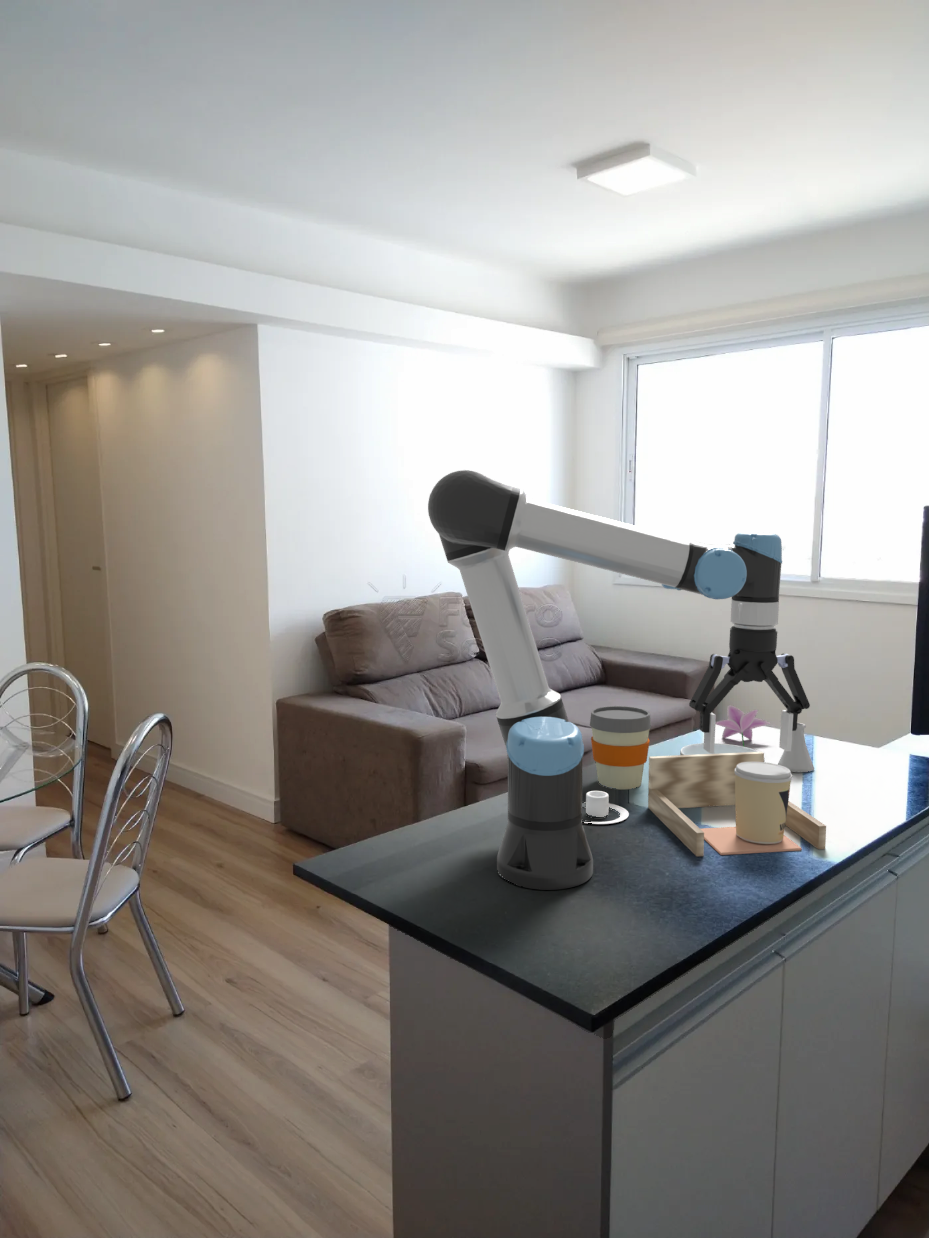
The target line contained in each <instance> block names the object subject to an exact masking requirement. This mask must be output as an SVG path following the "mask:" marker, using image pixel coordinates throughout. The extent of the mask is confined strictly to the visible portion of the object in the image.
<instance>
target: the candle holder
mask: <svg viewBox="0 0 929 1238" xmlns="http://www.w3.org/2000/svg"><path fill="white" fill-rule="evenodd" d="M609 797H610V796H609V793H607V792H605V791H602V790H591V791H588V792H586V793H585V802H584V801H583V802H584V803H586V807H585V814H586V813H587V814H588V815H592V816H596V817H604V816H606V815H608V816H609V812H610V811H609V810H610V809H609V807H610V808H612V809H615V810H616V811H618V812H619V813H620V815H619V816H620V817H618V818H615V819H613V820H607V821H591V822H584V823H583V824H588V823H592V824H591V825H609V824H616V823H619V822H620V823H621V822H624V820H627V819H628V817H629V815H630V813H629V811H628V810H627V809H626V808H624V807H623V806H619V805H617V804H614V803H610V802H609V800H610V798H609ZM612 809H611V810H612ZM616 811H615V812H616ZM619 813H618V814H619ZM604 818H605V817H604Z"/></svg>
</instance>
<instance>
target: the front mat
mask: <svg viewBox="0 0 929 1238" xmlns="http://www.w3.org/2000/svg"><path fill="white" fill-rule="evenodd" d="M700 829H701V830H702V831H703V832H704V841H706V843H707V844H709V846H710V847H712V848H713V849H714V850H715V851H716V852H717V853H718V854H720V856H727V855H742V854H759V853H779V852H780V853H781V852H795V851H802V849H803V848H802V847H801V846H799V845H798V844H797V843H795V842H794V841H793V840H791V839H790V838H789V837H788V836H786V834H784V836H783V840H782V841H781V842H780V843H776V844H759V843H753V842H749V841H746V840H743V839H741V838H740V837H738V836H737V834H736V826H724V827H722V826H721V827H706V828H705V827H704V828H700Z"/></svg>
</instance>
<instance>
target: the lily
mask: <svg viewBox="0 0 929 1238" xmlns="http://www.w3.org/2000/svg"><path fill="white" fill-rule="evenodd" d="M726 711H727V712H726V713H727V714H726V715H727V719H722V720H717V721H716V724H715V726H718V727H719V726H720V727H723V728H724V729H723V732H722V736H721V738H722V739H726V738H729V737H732V736H734V735H737V734H739V735H741V740H742V742H741V743H742V746H743V747H745V742H744V741H745V740H744V737H745V738H746V739H748V740H752V739H753V729H756V728H760V727H765V726H768V725H771V722H769V721H768V720H765V719H763V718H758V717H757V714H758V712H759V709H753V710H749V711H747V712H745V713H744V711H743V710H741V709H740V708H739V707H737V706H734V705H732V704H729V705H727V709H726Z"/></svg>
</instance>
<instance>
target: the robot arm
mask: <svg viewBox="0 0 929 1238" xmlns="http://www.w3.org/2000/svg"><path fill="white" fill-rule="evenodd" d="M427 513H428V518H429V520H430V524H431V525H432V527H433V529H434V530H435V531H436V533H437V534H438V536H439V539H440V542H441V545H442V547H443V551H444V555H445V558H446V561H447V563H448V564H450V565H452V567H455V568H457V569H458V570H459V572H460V576H461V579H462V583H463V584H464V585H463V586H464V589H465V592H466V596H467V598H468V601H469V603H470V608H471V611H472V615H473V617H474V619H475V624H476V627H477V630H478V632H479V633H478V634H479V636H480V639H481V642H482V646H483V650H484V652H485V655H486V659H487V661H488V665H489V669H490V672H491V674H492V678H493V682H494V685H495V687H496V691H497V693H498V696H499V700H500V705H499V706H498V708H497V710H496V712H495V716H496V721H497V723H498V726H499V730H500V733H501V735H502V737H501V738H502V739H503V743H504V746H505V750H506V754H507V755H506V757H507V758H506V759H507V760H506V761H507V763H506V764H507V824H506V827H505V830H504V834H503V836H502V840H501V843H500V845H499V848H498V851H497V856H496V871H497V870H498V872H499V874H501V876H503V878H505V879H506V880H509V881H510V882H512V883H514V884H513V885H515V884H517V885H516V886H518V887H521V886H523V887H522V888H526V889H532V890H542V891H543V890H545V891H546V890H547V891H552V890H554V891H555V890H556V891H557V890H564V889H565V890H566V889H569V888H574V887H578V886H580V885H582V884H584V883H586V882H588V881H589V880H590V879H591V877H592V876H593V874H594V859H593V855H592V851H591V848H590V845H589V842H588V839H587V835H586V832H585V828H584V826H583V823H582V820H583V808H582V802H583V756H584V754H585V745H584V742H583V734H582V731H581V730H580V728H579V727H578V726H577V725H576V724H575V723H573V722H571V721H569V718H568V715H567V712H566V708H565V705H564V702H563V699H562V695H561V694H560V693H559V692H557V691H555V690H553V689H551V688H550V687H549V683H548V679H547V676H546V673H545V670H544V667H543V663H542V661H541V657H540V653H539V651H538V648H537V647H538V646H537V643H536V640H535V637H534V634H533V631H532V628H531V624H530V621H529V617H528V615H527V610H526V607H525V604H524V601H523V598H522V595H521V591H520V589H519V585H518V582H517V578H516V575H515V572H514V569H513V566H512V562H511V559H510V555H509V553H510V551H511V549H514V548H519V549H524V550H528V551H531V552H534V553H535V552H536V553H540V554H543V555H546V556H551V557H554V558H559V559H563V560H566V561H569V562H574V563H578V564H581V565H582V564H583V565H586V566H590V567H593V568H598V569H602V570H606V571H609V572H613V573H617V574H622V575H625V576H628V577H633V578H637V579H640V580H645V581H649V582H652V583H657V584H661V586H662V587H663V588H664V589H667V590H677V591H681V590H682V591H687V592H690V593H694V594H698V595H702V596H704V597H705V598H708V599H713V600H726V599H729V598H731V603H730V605H731V607H730V622H731V624H732V625H733V626H731V627H730V628H729V641H728V642H729V644H728V645H729V646H728V647H729V648H728V649H729V652H728V654H727V655H726V656H725V655H720V654H716V653H712V654H710V657H709V662H708V663H709V664H708V667H707V669H706V671H705V673H704V675H703V676H702V679H701V680H700V683H699V684H698V686H697V688H696V690H695V692H694V693H693V696H692V698H691V700H690V701H689V704H688V705H689V707H690V708H692V709H693V710H695V711H697V712H699V726H698V727H699V731H700V732H702V733H703V743H704V748H703V749H704V750H706V751H707V752H709V753H714V744H715V743H716V742H715V740H716V722H717V721H716V718H717V715H716V713H713V711H714V710H715V709H716V708H717V706H718V705H720V703H721V702H722V701H723V700H724V698H726V696H727V695H728V694H729V693H730V691H731V690H732V689H734V687H735V686H736V685H738V684H739V683H740V682H743V683H750V682H758V683H762V682H763V681H764V682H766V684H767V685H768V686H769V688H770V689H771V690H772V692H774V695H776V696H777V698H778V699H779V701H780V702H781V703H782V705H783V706H784V707H785V708H786V709H781V711H780V712H781V714H780V729H779V746H778V747H779V748H780V749H782V750H783V751H784V750H785V751H791V745H792V731H796V729H797V723H798V720H799V719H798V718H799V717H798V716H799V715H800V714H801V713H802V711H803V710H808V709H810V707H811V704H810V702H809V700H808V697H807V694H806V693H805V690H804V688H803V684H802V682H801V681H800V678H799V676H798V673H797V671H796V667H795V657H794V655H791V654H788V653H785V652H784V653H783V652H782V653H781V654H780V655H777V654H776V651H777V644H778V629H776V626H777V625H778V624H779V611H780V609H779V608H780V607H779V605H780V602H779V601H780V588H781V587H780V586H781V574H782V564H783V555H782V553H783V550H782V549H783V547H782V539H781V537H780V535H778V534H776V533H764V532H763V533H759V532H752V533H751V532H748V533H746V532H739V533H737V534H735V536H734V539H733V540H734V541H733V543H732V544H707V543H703V542H699V541H696V540H690V539H687V538H684V537H680V536H675V535H672V534H668V533H666V532H665V533H664V532H660V531H657V530H653V529H649V528H645V527H642V526H641V527H640V526H637V525H633V524H631V523H627V522H621V521H618V520H614V519H610V518H607V517H604V516H603V517H602V516H599V515H594V514H590V513H587V512H584V511H580V510H575V509H571V508H568V507H563V506H559V505H556V504H553V503H548V502H544V501H541V500H537V499H533V498H529V497H528V496H527V494H526V493H525V491H524V489H521V488H518V487H513V486H510V485H507V484H504V483H501V482H500V481H496V480H495V479H494V480H493V479H491V478H490V477H487V476H486V475H484V474H481V473H479V472H478V471H473V470H466V469H463V470H456V471H452V472H450V473H448V474H446V475H444V476H443V477H442V478H440V479H439V480H438V481H437V482H436V483H435V485H434V486H433V487H432V490H431V492H430V493H429V497H428V503H427ZM726 664H727V666H728V667H729V669H728V671H727V672H726V673H725V674H724V676H723V678H722V679H721V681H720V682H719V683H718V684H717V685H716V684H715V683H716V681H717V680H718V677H719V676H720V673H721V672H722V669H724V668H725V666H726ZM777 665H778V667H780V668H781V671H782V674H783V675H784V678H785V680H786V683H787V686H788V688H789V690H790V693H791V694H790V693H789V692H788V691H787V690H786V689H785V687H784V685H783V684H782V683H781V682H780V680H779V678H778V677H777V675H776V674H775V672H774V668H776V666H777ZM715 685H716V686H715ZM714 686H715V688H714V689H713V687H714ZM712 689H713V690H712ZM791 695H792V696H791ZM792 697H793V698H792ZM498 872H497V873H498ZM499 874H498V875H499ZM501 876H500V877H501ZM503 878H502V879H503ZM506 880H505V881H506ZM510 882H509V883H510ZM512 883H511V884H512Z"/></svg>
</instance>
